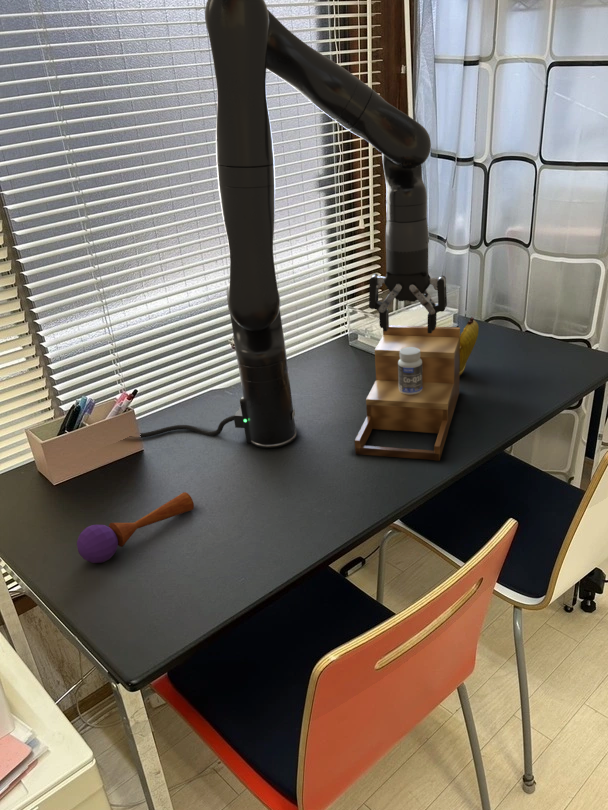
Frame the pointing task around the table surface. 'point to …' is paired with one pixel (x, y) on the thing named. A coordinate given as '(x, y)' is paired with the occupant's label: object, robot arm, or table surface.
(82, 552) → the kendama
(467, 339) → the banana bunch
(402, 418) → the stepped rack
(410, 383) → the pill bottle
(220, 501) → the table surface
